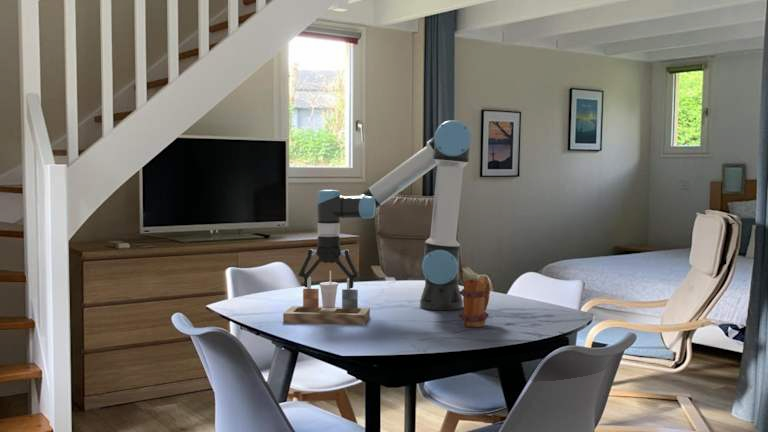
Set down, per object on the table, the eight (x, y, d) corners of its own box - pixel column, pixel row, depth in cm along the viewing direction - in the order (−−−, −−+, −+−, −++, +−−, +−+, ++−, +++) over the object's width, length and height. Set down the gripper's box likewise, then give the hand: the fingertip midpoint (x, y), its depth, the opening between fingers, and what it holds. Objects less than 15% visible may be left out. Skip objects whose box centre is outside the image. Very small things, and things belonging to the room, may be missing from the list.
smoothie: (335, 313, 267) (335, 272, 267) (317, 312, 269) (317, 271, 268) (340, 310, 274) (340, 269, 273) (322, 309, 275) (322, 269, 274)
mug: (479, 330, 241) (479, 281, 240) (454, 327, 245) (455, 279, 244) (498, 322, 253) (499, 275, 253) (475, 319, 258) (475, 273, 257)
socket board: (369, 316, 262) (369, 289, 261) (364, 324, 249) (364, 296, 248) (292, 314, 264) (292, 288, 264) (283, 322, 252) (283, 294, 251)
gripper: (366, 234, 272) (366, 296, 273) (294, 233, 275) (295, 294, 276) (363, 236, 265) (363, 300, 266) (290, 235, 267) (290, 298, 268)
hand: (328, 297), depth 271 cm, fingers open, 13 cm apart
